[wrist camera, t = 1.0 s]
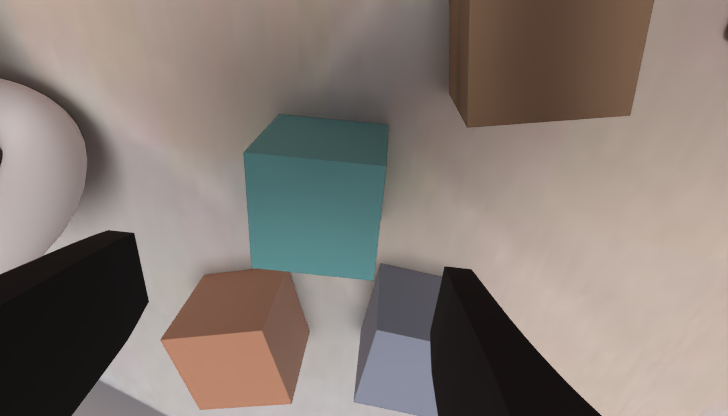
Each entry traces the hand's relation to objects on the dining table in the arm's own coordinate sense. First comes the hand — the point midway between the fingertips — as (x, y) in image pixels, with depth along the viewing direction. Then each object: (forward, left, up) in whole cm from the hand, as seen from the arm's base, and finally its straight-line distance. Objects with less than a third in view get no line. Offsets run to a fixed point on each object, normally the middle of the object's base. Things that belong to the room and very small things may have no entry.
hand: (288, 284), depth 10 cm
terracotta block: (+4, +11, -11) cm, 16 cm away
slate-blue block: (-5, +10, -11) cm, 15 cm away
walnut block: (-7, -5, -11) cm, 14 cm away
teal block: (0, +2, -11) cm, 11 cm away
